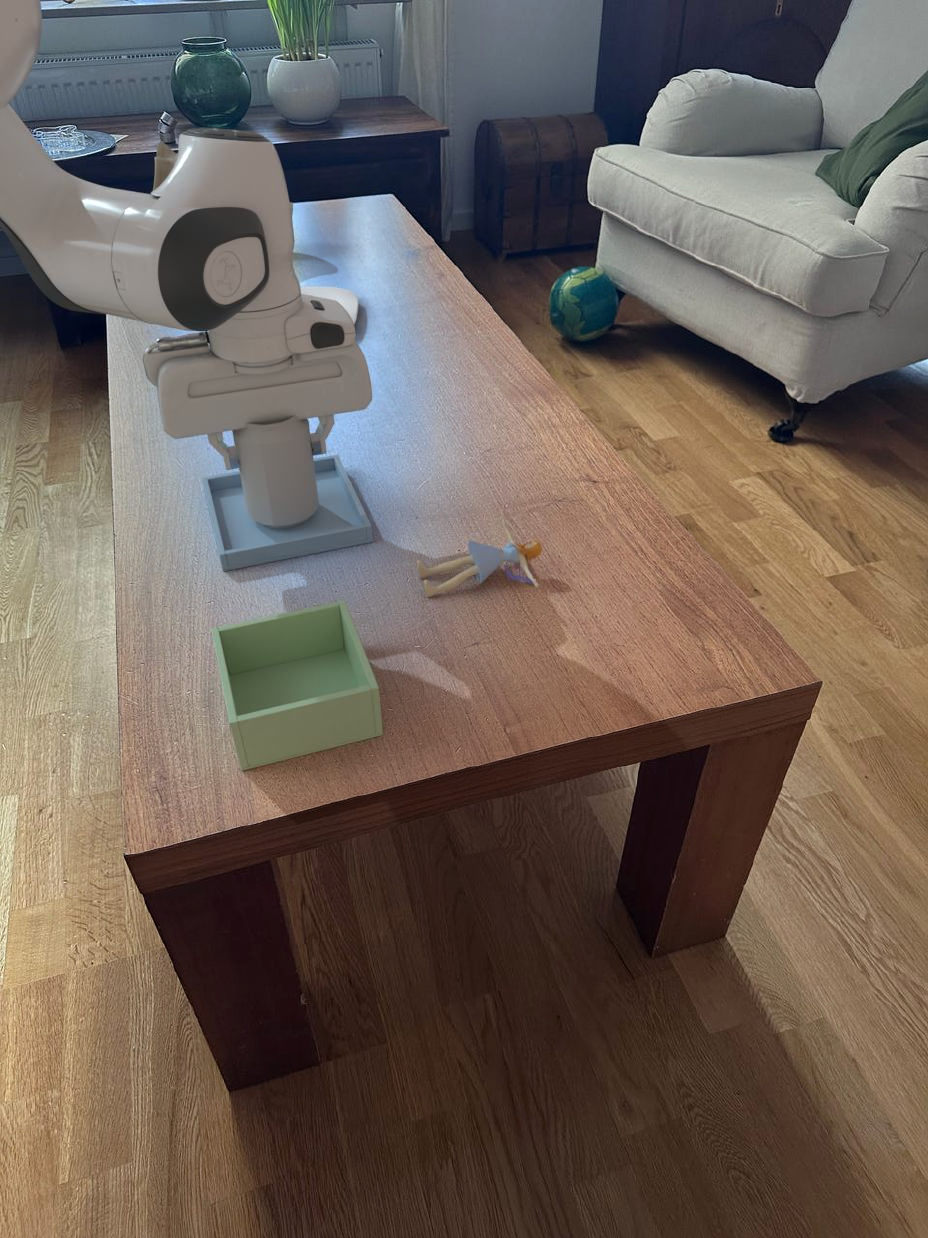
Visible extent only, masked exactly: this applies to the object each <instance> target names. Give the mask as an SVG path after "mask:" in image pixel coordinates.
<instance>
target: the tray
mask: <svg viewBox="0 0 928 1238" xmlns="http://www.w3.org/2000/svg"><path fill="white" fill-rule="evenodd" d="M313 460H314V468H315V476H316V484H317V492H318V500H319V504H318V509H317V510H316V512H315V513H314V514H313V515H312V516H310V518H309V519H308V520H307V521H305V522H304V523H302V524H300V525H297V526H295V527H290V528H283V529H276V528H269V527H266V526H264V525H262V524H261V523H259V522H256V521H254V520H253V519H252V518H251V517H250V516H249V514H248V512H247V508H246V502H245V497H244V492H243V486H242V481H241V476H240V470H239V471H233V472H227V473H222V474H215V475H210V476H204V477H201V482H202V486H203V491H204V495H205V499H206V504H207V509H208V512H209V517H210V521H211V526H212V529H213V535H214V538H215V542H216V547H217V552H218V557H219V560H220V564H221V568H222V572H227V571H231V570H232V571H233V570H236V569H237V570H238V569H242V568H247V567H252V566H258V565H262V564H267V563H274V562H278V561H283V560H288V559H293V558H299V557H304V556H307V555H313V554H318V553H323V552H328V551H329V552H330V551H334V550H338V549H344V548H349V547H353V546H359V545H365V544H369V543H374V538H373V537H374V536H373V527H372V524H371V521H370V519H369V518H368V515H367V513H366V510H365V509H364V507H363V504H362V503H361V501H360V499H359V496H358V494H357V492H356V490H355V488H354V486H353V483H352V481H351V479H350V477H349V476H348V473H347V471H346V469H345V467H344V465H343V463H342V460H341V459H340V456H339V455H338V454H334V455H327V456H321V457H315V458H313Z"/></svg>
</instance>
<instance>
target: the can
mask: <svg viewBox="0 0 928 1238" xmlns="http://www.w3.org/2000/svg"><path fill="white" fill-rule="evenodd" d="M297 417H298V416H293V417H291V418H290V419H288V420H286V421H283V422H277V423H271V424H265V425H259V424H252V423H246V424H245V425H246V426H247V428H244V429H238V430H231V433H232V436H233V443H234V446H235V448H236V451H237V453H238V455H239V463H240V468H238V469H239V471H240V476H241V481H242V486H243V492H244V497H245V502H246V508H247V512H248V514H249V516H250V517H251V518H252V519H253V520H254V521H256V522H259V523H261V524H262V525H264V526H266V527H269V528H276V529H283V528H290V527H295V526H297V525H300V524H302V523H304V522H305V521H307V520H308V519H309V518H310V516H312V515H313V514H314V513H315V512H316V510H317V509H318V504H319V500H318V492H317V484H316V476H315V468H314V460H313V459H314V456H313V455H312V447H311V436H310V434H311V428H310V421H309V418H308V419H302V420H296V418H297Z"/></svg>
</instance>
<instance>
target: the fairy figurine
mask: <svg viewBox="0 0 928 1238" xmlns="http://www.w3.org/2000/svg"><path fill="white" fill-rule="evenodd" d="M501 522H502V526H503V529H504V532H505V535H506V537H507V541H508V542H507V543H506V545H505V547H501V548H498V547H496V546H492V545H488V544H484V543H481V542H477V541H473V540H468V545H467V546H468V552H469V555H466V556H461V557H460V558H458V559H454V560H449V561H445V562H442V563H440V564H438V565H436V566H433V567H425V566H424V565H423V562H422V561H421V560H420V559H418V560H416V565H417V566H416V567H417V572H418V577H419V579H423V586H424V589H425V590H424V591H425V595H426V598H430V597H433V596H435V595H438V594H440V593H443V592H446V591H451V590H453V589H455V588H457V587H459V586H460V585H461V584H462V583H463V582H465V581H467V579H468V578H470V577H473V576H475V577H476V580H477V582H478V583H479V584H480V585H481V584H483V583H484V581H486V580H487V579H488V578H489V576H491V575H492V573H494V572H495V571H496V570H497V569H498V568H499V567H500V566H501V565H502V564H503V563H504V562H506V563H505V567H504V569H505V573H506V575H507V577H508V578H510V579H511V580H515V581H517V580H520V581H521V582H526V583H529V584H530V585H533V586H534V587H536V588H538V587H539V583H538V582H537V579H536V578H535V577H534V575H533V573H532V572H531V569H530V566H529V565H528V562H529V563H530V562H531V561H532V560H534V559H537V558H538V557H539V556H541V555H542V551H543V547H542V543H541V542H540V541H538V540H537V539H534V540H532V541H528V542H526V543H520V542H518V543H516V542H515V541H514V538H513V537H512V534H511V533H510V531H509V530H508V526H507V524H506V521H505V518H504V517H503V516H501ZM509 563H513V565H512V566H511V567H513V568H512V571H510V567H509ZM516 564H517V567H516V568H515V566H514V565H516ZM466 565H472V566H471V567H469V568H468V569H465V570H464V571H462V572H460V573H458V574H456V575H455V576H453V577H452V578H450V579H449V580H447V581H444V583H442V584H440V585H437V586H433V585H431V583H430V581H429V579H424V578H428V577H429V576H434V575H437V574H438V575H439V574H445V573H452V572H455V571H457V570H459V569H461V568H462V567H464V566H466ZM514 569H515V570H518V574H516V575H515V573H513V572H514ZM521 569H522V571H523V574H522V575H523V576H522V575H521ZM524 573H525V575H526V576H525V575H524Z"/></svg>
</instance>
